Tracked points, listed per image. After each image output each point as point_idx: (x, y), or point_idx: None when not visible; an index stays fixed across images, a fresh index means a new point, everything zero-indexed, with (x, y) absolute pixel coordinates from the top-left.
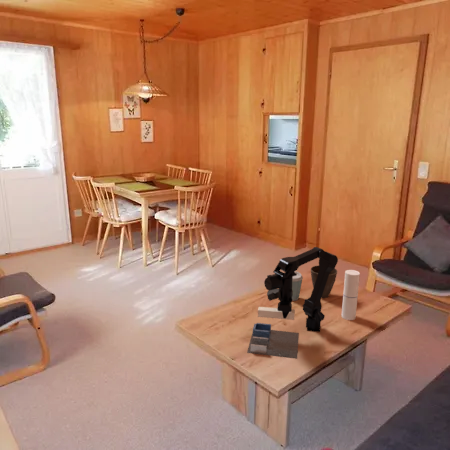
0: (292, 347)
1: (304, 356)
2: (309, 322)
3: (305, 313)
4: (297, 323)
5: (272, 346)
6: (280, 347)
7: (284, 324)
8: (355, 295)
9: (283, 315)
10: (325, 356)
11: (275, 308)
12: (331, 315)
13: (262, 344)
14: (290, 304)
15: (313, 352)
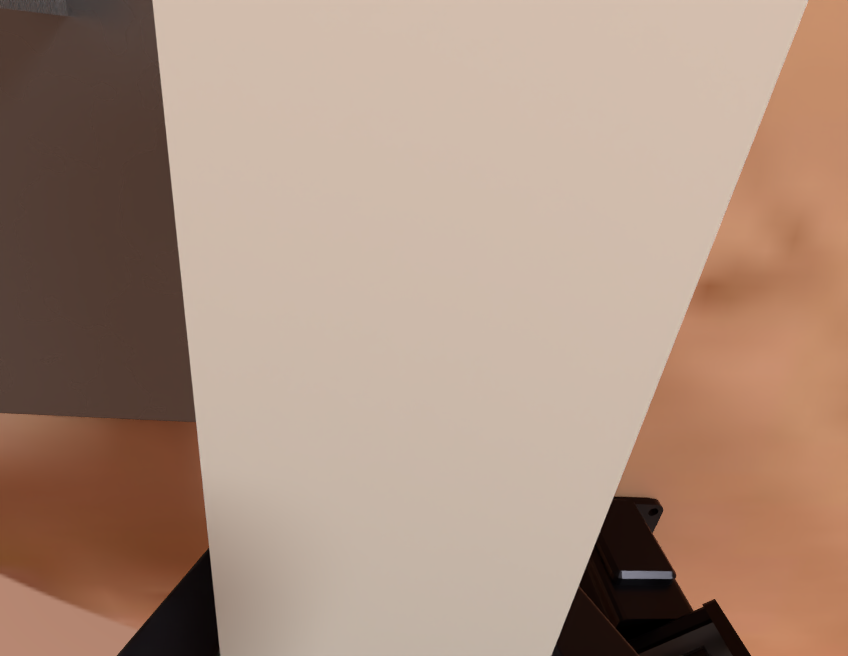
0: (130, 367)
1: (22, 462)
2: (588, 580)
3: (713, 621)
4: (696, 420)
5: (47, 98)
6: (71, 222)
7: (702, 287)
8: None
9: (178, 595)
10: (105, 601)
11: (595, 411)
12: (768, 642)
13: None
14: None
15: (137, 530)
